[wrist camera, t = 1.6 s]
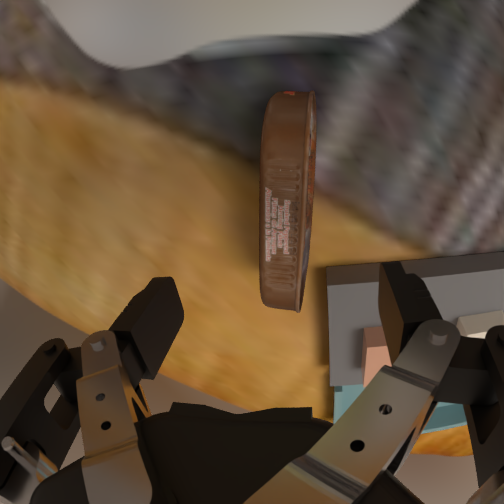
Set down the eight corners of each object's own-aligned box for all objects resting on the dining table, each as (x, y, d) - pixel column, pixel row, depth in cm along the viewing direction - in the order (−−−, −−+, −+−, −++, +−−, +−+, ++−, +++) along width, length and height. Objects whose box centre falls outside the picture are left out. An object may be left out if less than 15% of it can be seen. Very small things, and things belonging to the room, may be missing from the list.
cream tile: (501, 310, 23) (512, 326, 21) (488, 349, 25) (497, 366, 23) (458, 317, 24) (467, 335, 22) (447, 357, 26) (454, 375, 24)
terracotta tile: (418, 322, 25) (425, 341, 23) (411, 362, 27) (416, 381, 25) (363, 327, 26) (367, 347, 24) (361, 367, 28) (363, 387, 26)
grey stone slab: (520, 249, 23) (535, 264, 20) (494, 344, 28) (503, 361, 25) (325, 266, 27) (327, 285, 25) (329, 365, 32) (329, 386, 30)
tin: (307, 274, 28) (304, 339, 21) (271, 271, 28) (256, 335, 21) (317, 92, 21) (323, 88, 14) (274, 91, 22) (258, 86, 14)
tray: (490, 346, 28) (502, 369, 25) (468, 399, 32) (475, 422, 29) (334, 366, 32) (335, 394, 29) (333, 417, 36) (333, 443, 33)
